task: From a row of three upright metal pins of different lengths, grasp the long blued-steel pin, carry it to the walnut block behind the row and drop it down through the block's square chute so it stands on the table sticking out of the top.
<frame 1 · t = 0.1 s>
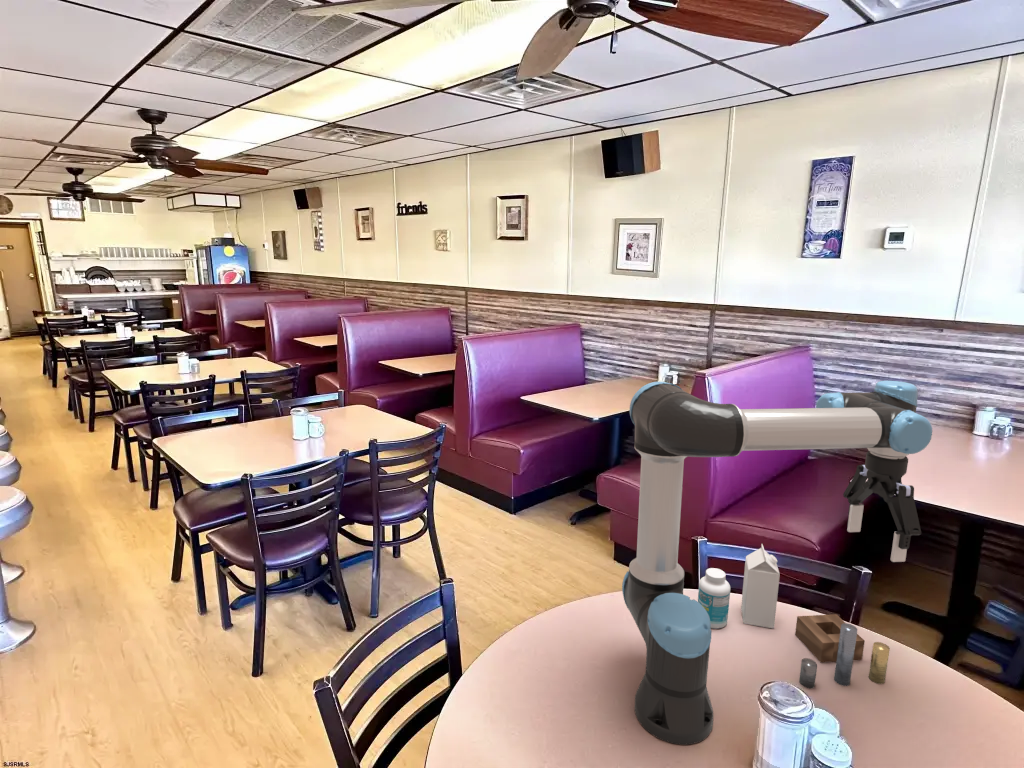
hand: (874, 545, 125), 28 cm above the table, fingers open, 13 cm apart
short gunmetal pin: (806, 683, 122), on the table
medium brass pin: (876, 678, 123), on the table
walnut hole block: (827, 646, 134), on the table
long steel pin: (841, 681, 123), on the table
milk carton: (756, 619, 145), on the table
pill bottle: (711, 621, 144), on the table
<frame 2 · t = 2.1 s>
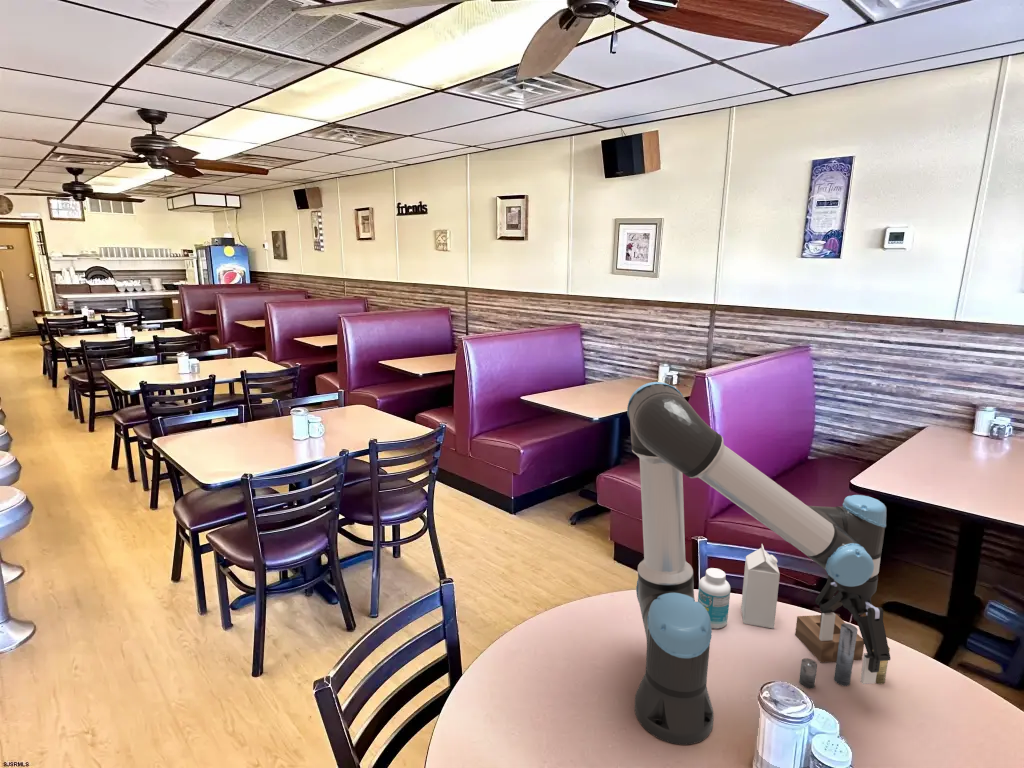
hand: (845, 660, 122), 5 cm above the table, fingers open, 13 cm apart
nothing on the table moved.
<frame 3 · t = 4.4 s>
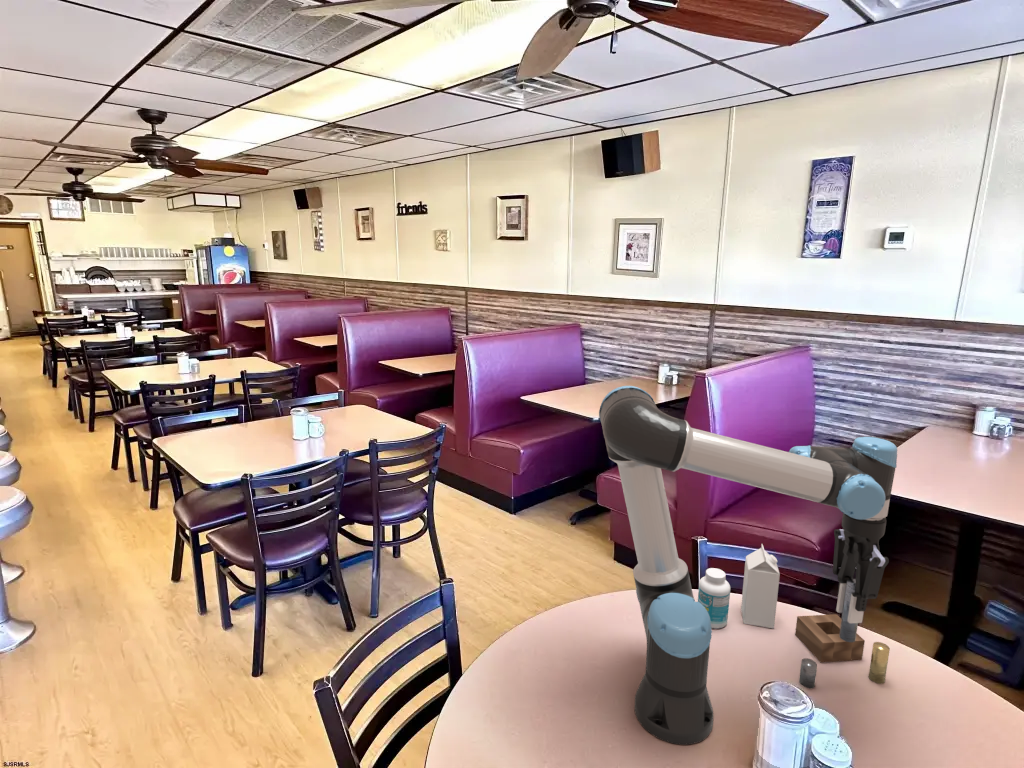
hand: (848, 616, 120), 16 cm above the table, fingers closed on long steel pin, 3 cm apart
long steel pin: (847, 637, 121), point 10 cm above the table, touching gripper
everything else where it was.
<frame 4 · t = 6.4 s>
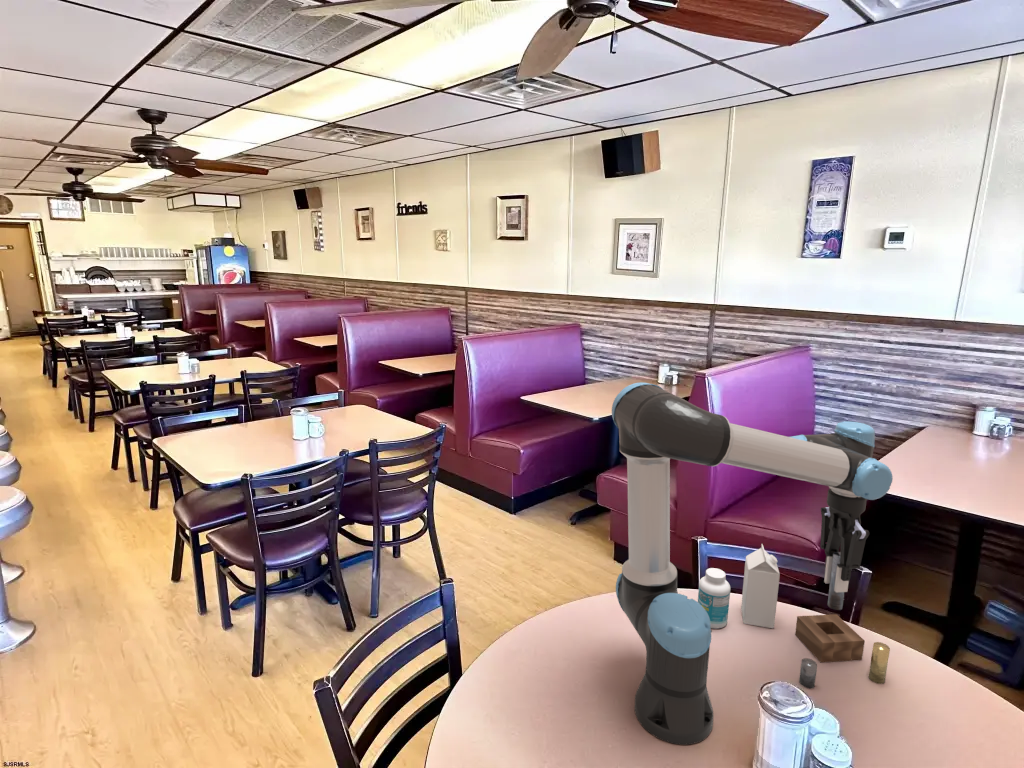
hand: (835, 586, 131), 16 cm above the table, fingers closed on long steel pin, 3 cm apart
long steel pin: (834, 606, 132), point 11 cm above the table, touching gripper
everything else where it was.
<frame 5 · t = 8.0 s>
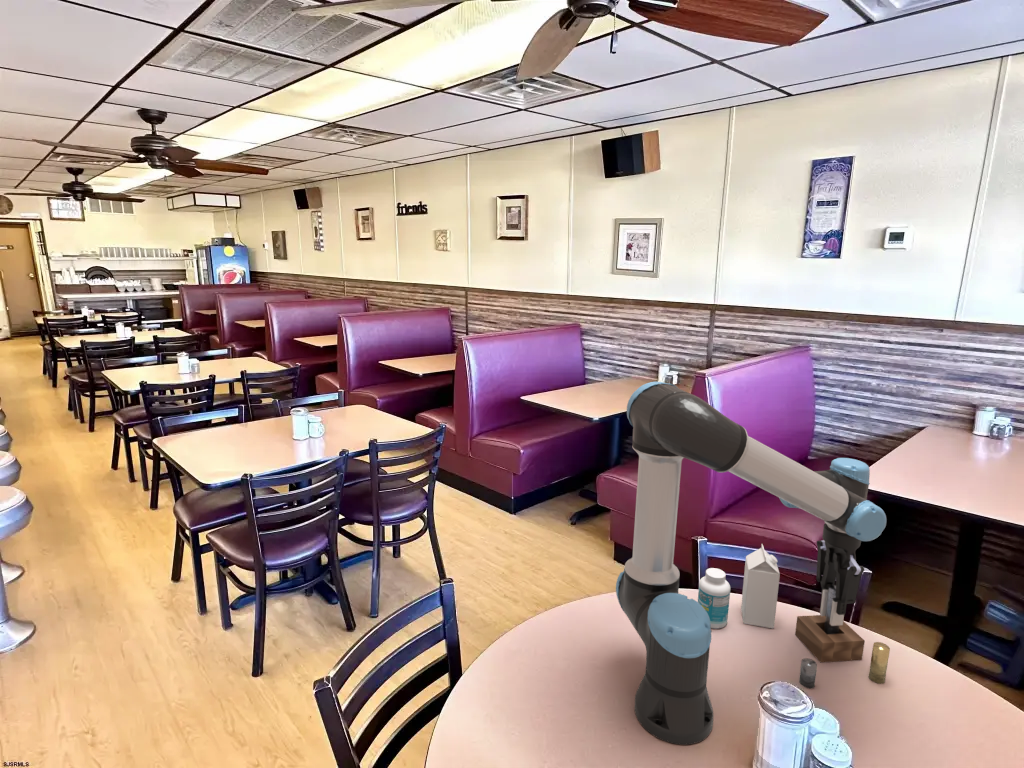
hand: (831, 619, 132), 7 cm above the table, fingers closed on long steel pin, 3 cm apart
long steel pin: (830, 638, 133), point 2 cm above the table, touching gripper
everything else where it was.
when the fingers open (6 cm above the table, at t = 8.9 s): long steel pin drops 1 cm, resting in walnut hole block.
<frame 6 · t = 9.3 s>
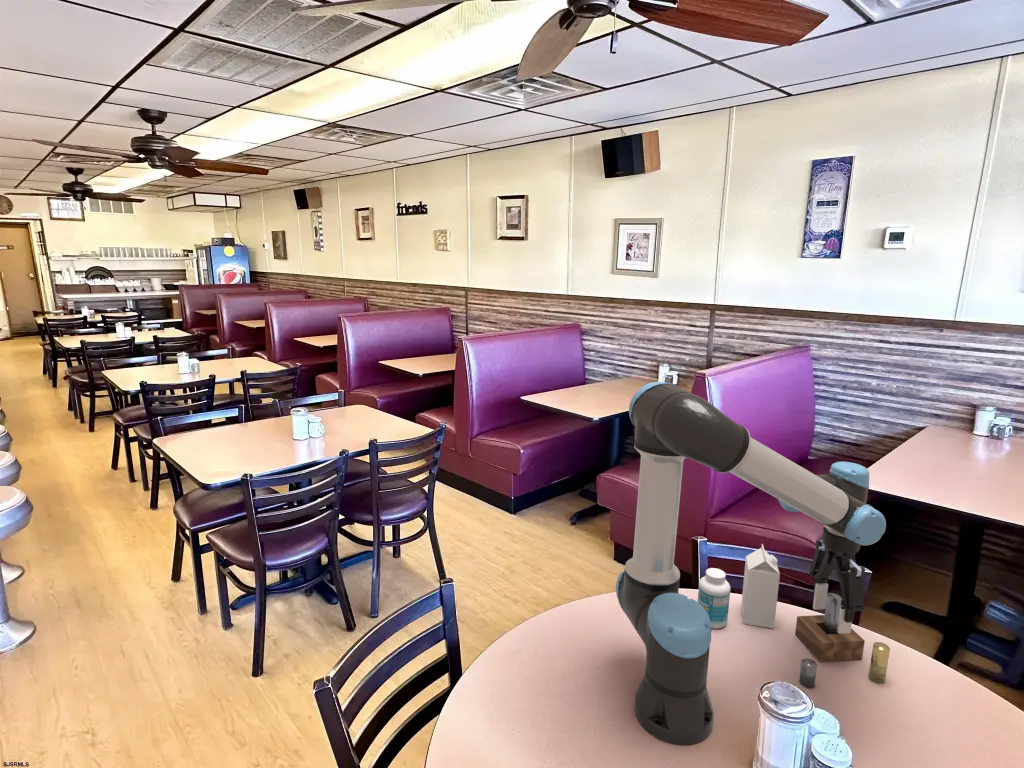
hand: (830, 619, 132), 7 cm above the table, fingers open, 8 cm apart
long steel pin: (829, 646, 134), resting in walnut hole block
everything else where it was.
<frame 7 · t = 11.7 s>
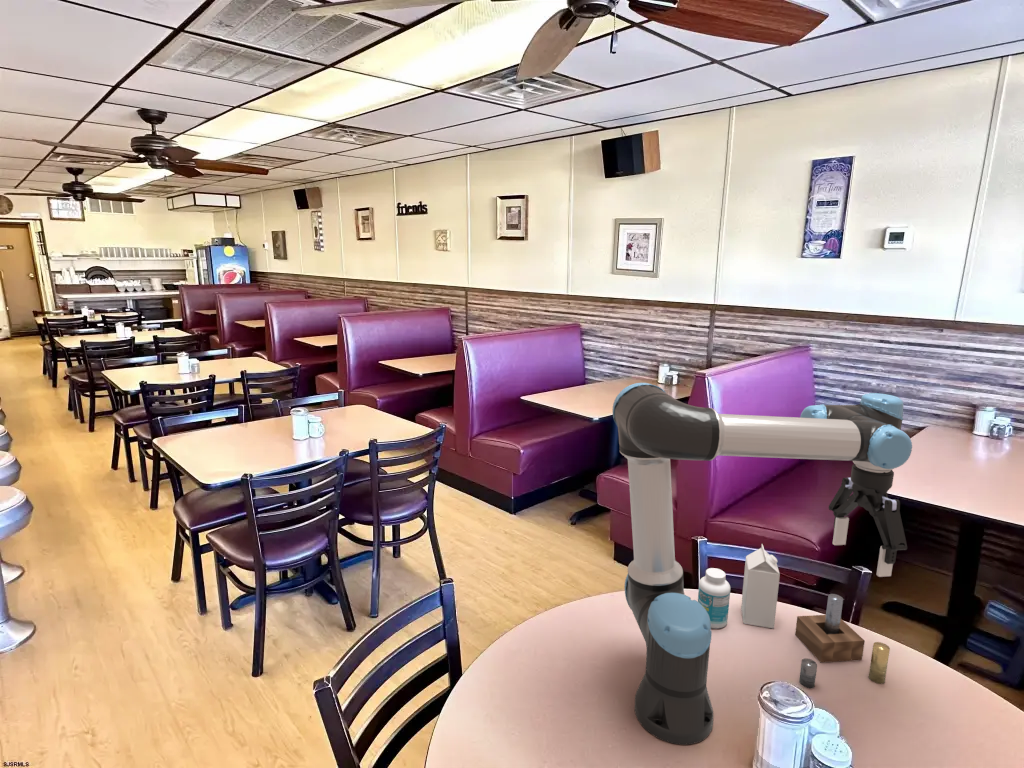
hand: (860, 559, 124), 25 cm above the table, fingers open, 13 cm apart
nothing on the table moved.
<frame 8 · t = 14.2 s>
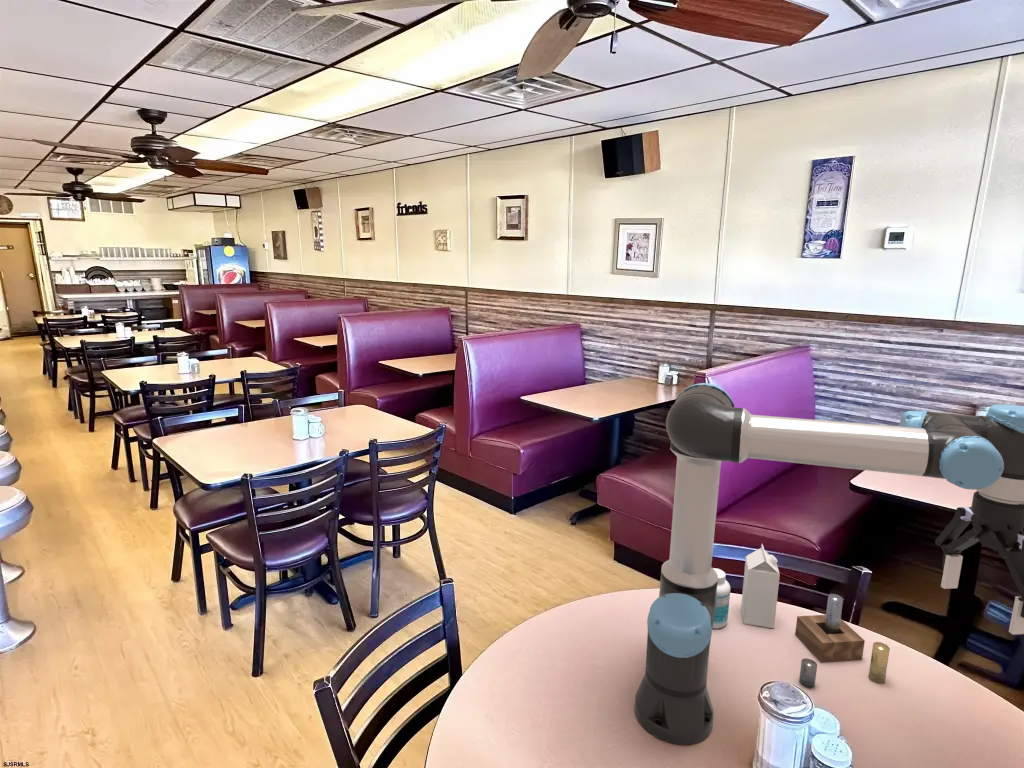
hand: (981, 608, 100), 29 cm above the table, fingers open, 13 cm apart
nothing on the table moved.
at the end: long steel pin 0.4 cm off-centre on the walnut hole block, point 0.0 cm above the walnut hole block's base; long steel pin tilted 0°; the gripper is holding nothing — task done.
